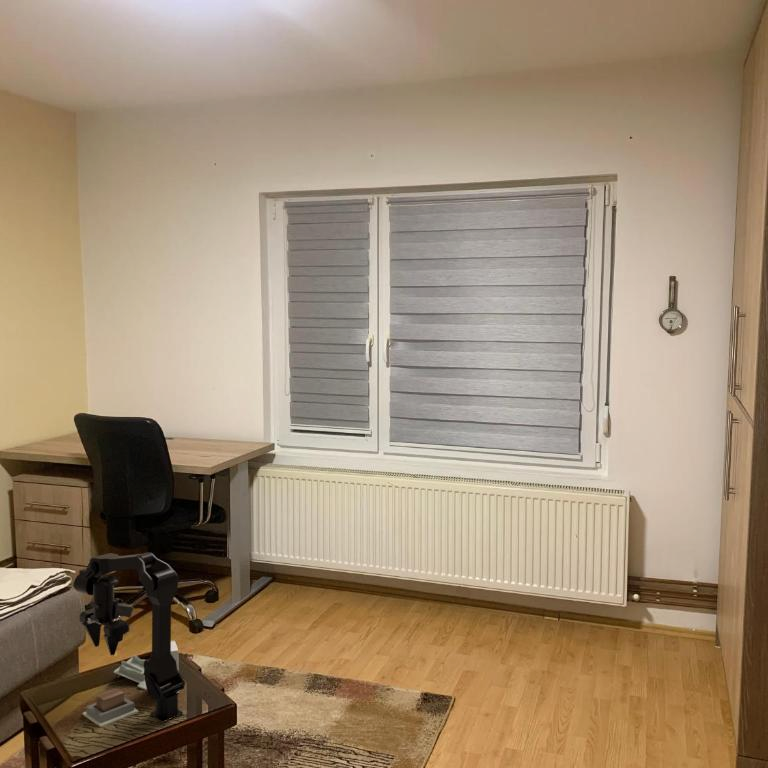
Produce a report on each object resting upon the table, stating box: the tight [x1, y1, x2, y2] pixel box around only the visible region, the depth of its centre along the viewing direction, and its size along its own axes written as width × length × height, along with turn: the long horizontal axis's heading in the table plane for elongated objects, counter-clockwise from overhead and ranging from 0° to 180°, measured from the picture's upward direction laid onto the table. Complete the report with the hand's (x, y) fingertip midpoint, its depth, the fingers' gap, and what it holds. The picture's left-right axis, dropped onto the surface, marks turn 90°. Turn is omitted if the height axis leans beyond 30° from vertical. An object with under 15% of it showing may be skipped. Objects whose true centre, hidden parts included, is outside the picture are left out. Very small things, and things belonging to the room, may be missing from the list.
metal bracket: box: [113, 654, 147, 691], centre depth 237 cm, size 14×6×15 cm
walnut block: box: [95, 688, 125, 713], centre depth 214 cm, size 4×6×5 cm, turn 138°
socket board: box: [82, 696, 139, 728], centre depth 214 cm, size 10×11×2 cm
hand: (104, 650), depth 227 cm, fingers open, 9 cm apart
